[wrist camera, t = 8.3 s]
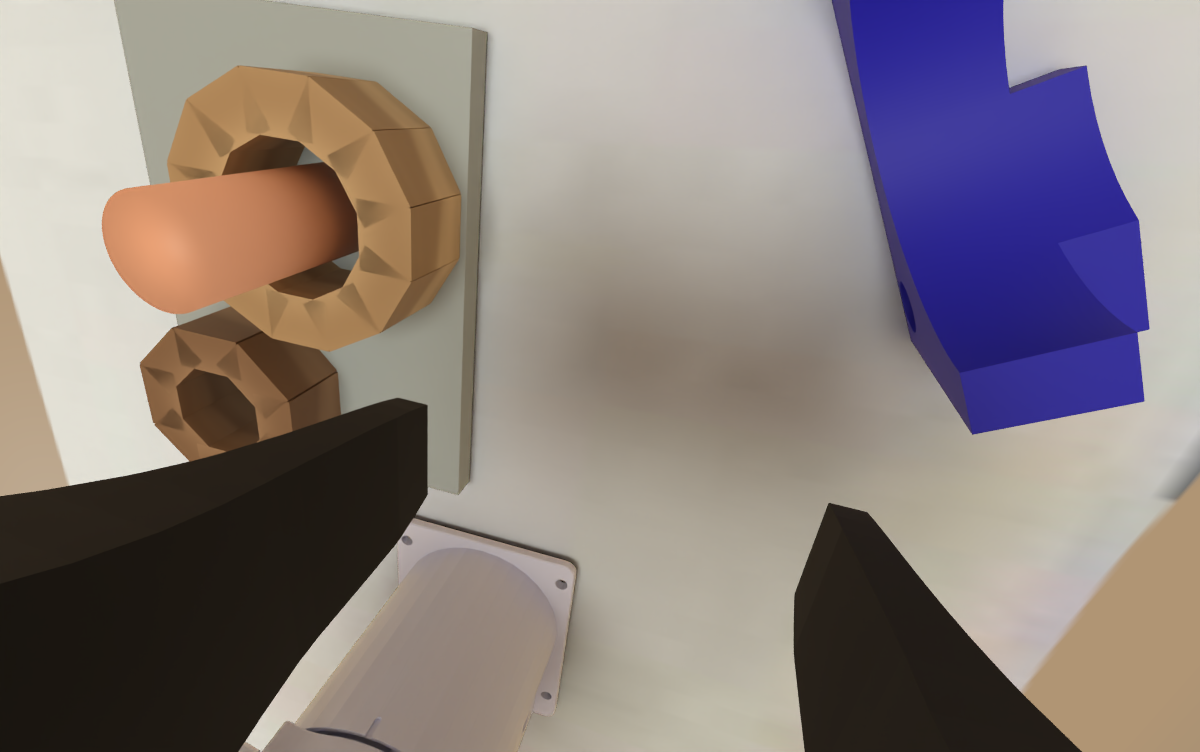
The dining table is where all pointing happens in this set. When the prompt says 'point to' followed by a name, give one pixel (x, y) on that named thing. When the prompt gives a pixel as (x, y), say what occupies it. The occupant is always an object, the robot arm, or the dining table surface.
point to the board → (336, 47)
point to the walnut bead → (234, 385)
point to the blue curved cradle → (997, 215)
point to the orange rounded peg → (227, 233)
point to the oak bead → (369, 176)
